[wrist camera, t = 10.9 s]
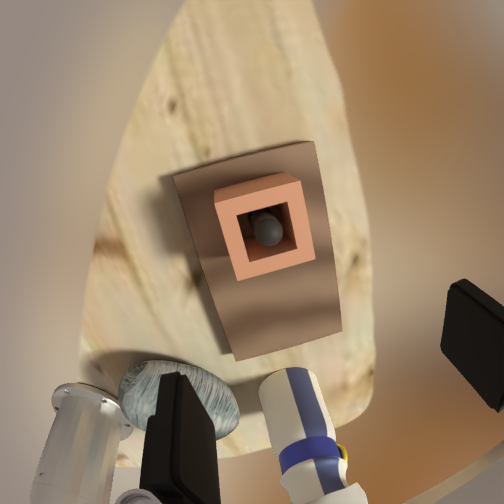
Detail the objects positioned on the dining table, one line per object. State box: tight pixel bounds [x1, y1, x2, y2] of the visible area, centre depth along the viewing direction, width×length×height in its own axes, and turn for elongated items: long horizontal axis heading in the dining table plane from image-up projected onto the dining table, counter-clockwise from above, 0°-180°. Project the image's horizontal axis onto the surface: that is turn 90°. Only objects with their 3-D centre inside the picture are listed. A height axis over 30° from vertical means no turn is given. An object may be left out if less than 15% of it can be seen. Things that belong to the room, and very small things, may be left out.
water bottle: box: [258, 367, 368, 504], centre depth 25 cm, size 8×9×25 cm
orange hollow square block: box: [214, 172, 316, 281], centre depth 24 cm, size 6×6×5 cm
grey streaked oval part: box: [118, 360, 240, 440], centre depth 30 cm, size 14×10×10 cm
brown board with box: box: [173, 141, 342, 362], centre depth 26 cm, size 20×12×8 cm, turn 14°
